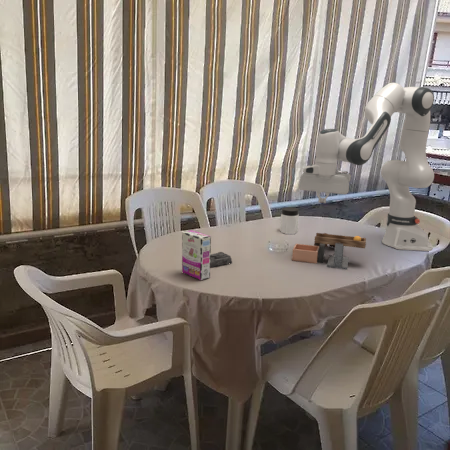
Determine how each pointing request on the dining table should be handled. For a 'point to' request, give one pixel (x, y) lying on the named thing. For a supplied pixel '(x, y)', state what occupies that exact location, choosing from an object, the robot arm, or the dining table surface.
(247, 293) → the dining table surface
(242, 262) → the dining table surface
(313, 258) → the pink open box
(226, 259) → the tank toy
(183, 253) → the candy bar box
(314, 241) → the pottery mug
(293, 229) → the jar
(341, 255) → the stand
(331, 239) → the brown wooden tray
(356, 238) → the ball
